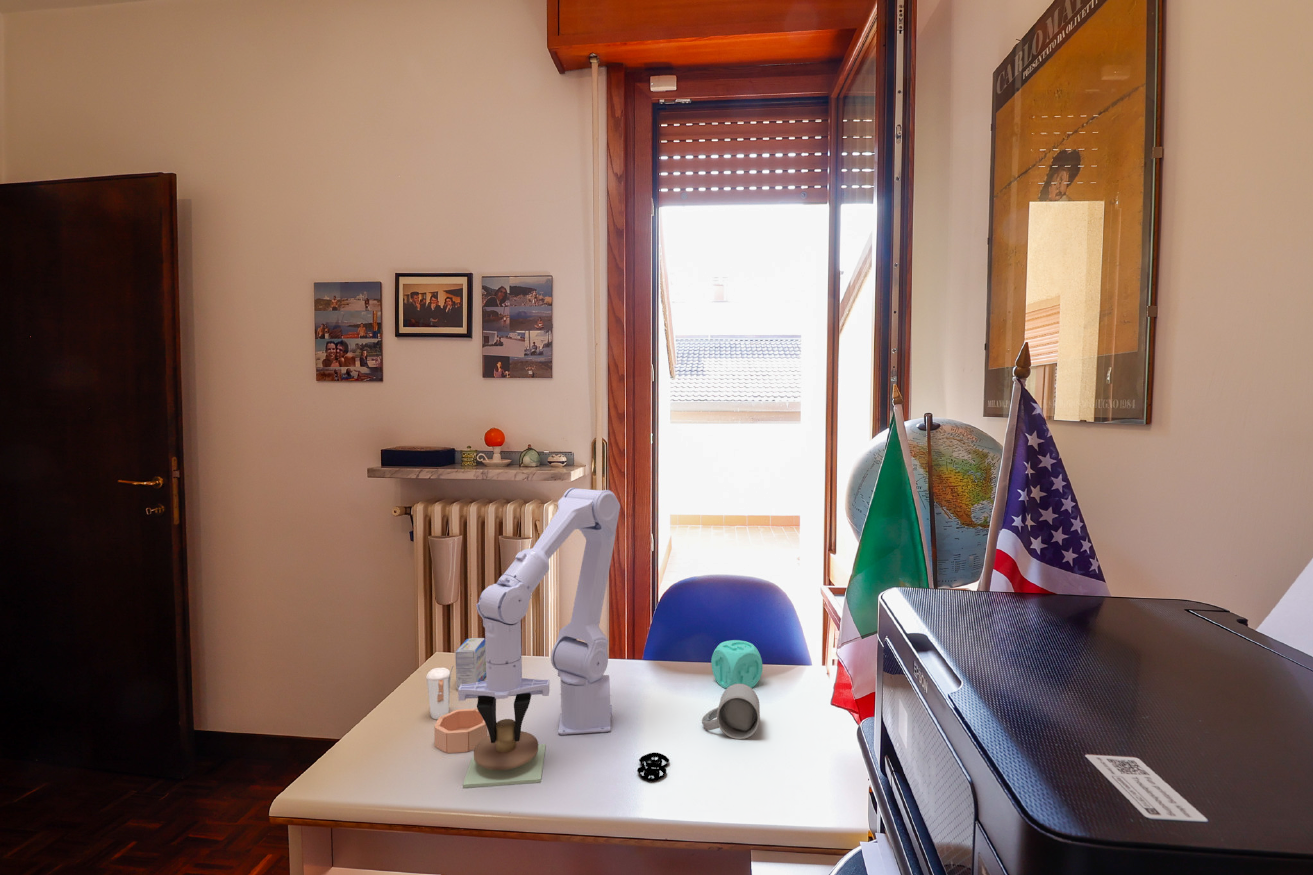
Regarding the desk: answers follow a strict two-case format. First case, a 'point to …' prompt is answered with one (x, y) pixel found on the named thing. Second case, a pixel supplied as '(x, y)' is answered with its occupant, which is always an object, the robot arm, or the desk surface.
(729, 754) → the desk surface
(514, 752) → the walnut lid
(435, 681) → the milkshake
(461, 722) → the terracotta bowl
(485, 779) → the green mat
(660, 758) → the black flat openwork piece
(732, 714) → the ceramic mug
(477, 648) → the medicine box
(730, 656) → the decorative dice
